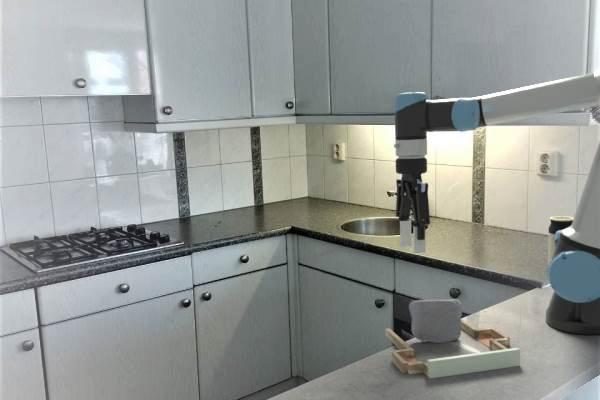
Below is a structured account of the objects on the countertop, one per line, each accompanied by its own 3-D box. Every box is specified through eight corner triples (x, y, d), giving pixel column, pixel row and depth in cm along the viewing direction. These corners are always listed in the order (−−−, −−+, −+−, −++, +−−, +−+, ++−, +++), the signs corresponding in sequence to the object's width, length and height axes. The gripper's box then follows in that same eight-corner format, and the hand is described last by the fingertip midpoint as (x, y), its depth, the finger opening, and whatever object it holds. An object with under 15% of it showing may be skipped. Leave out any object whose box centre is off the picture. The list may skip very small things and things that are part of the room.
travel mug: (572, 276, 184) (574, 220, 181) (545, 274, 188) (546, 219, 186) (576, 270, 190) (577, 216, 188) (550, 268, 195) (551, 215, 192)
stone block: (458, 336, 137) (457, 294, 136) (464, 343, 133) (464, 301, 131) (408, 338, 137) (407, 297, 136) (412, 346, 132) (412, 303, 131)
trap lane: (477, 325, 144) (477, 311, 143) (537, 363, 120) (537, 347, 120) (369, 338, 138) (369, 324, 137) (411, 381, 114) (410, 364, 114)
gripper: (381, 156, 151) (383, 242, 154) (414, 160, 131) (415, 259, 134) (408, 154, 152) (410, 240, 155) (444, 158, 132) (445, 256, 135)
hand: (412, 249), depth 144 cm, fingers open, 8 cm apart
